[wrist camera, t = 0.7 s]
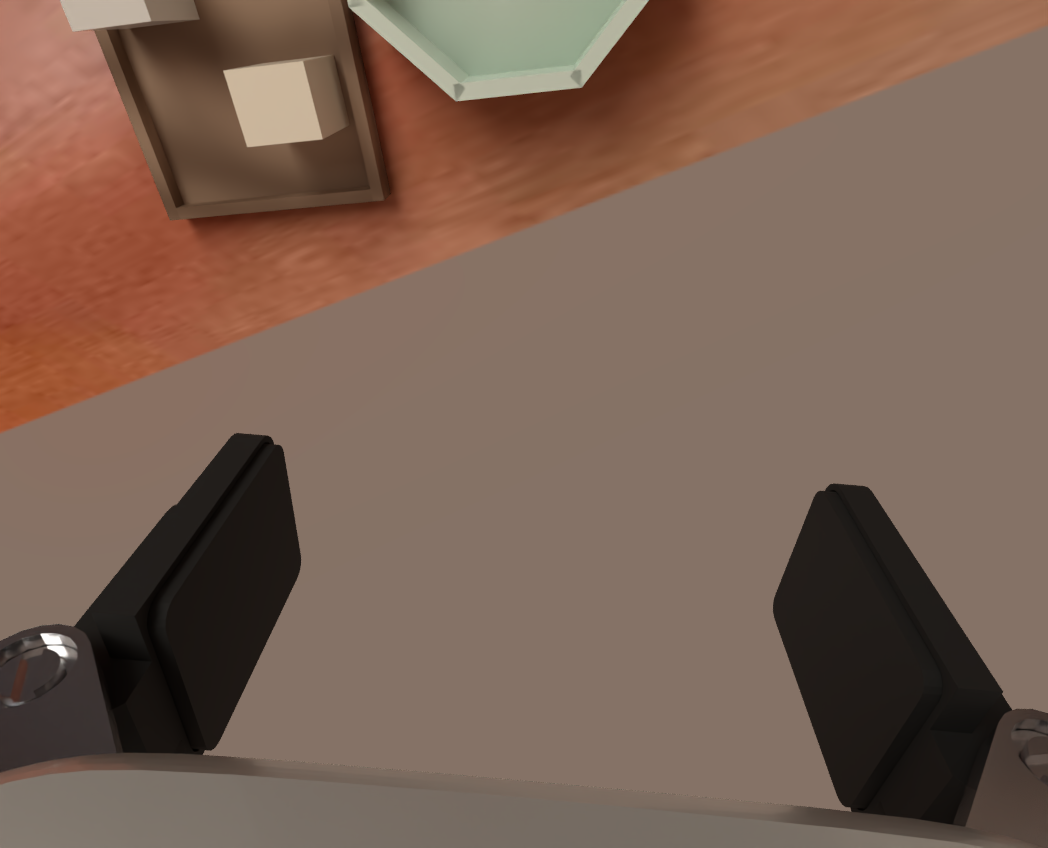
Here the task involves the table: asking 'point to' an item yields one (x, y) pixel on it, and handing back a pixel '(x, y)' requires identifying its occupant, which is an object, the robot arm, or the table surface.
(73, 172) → the table surface
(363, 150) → the walnut tray
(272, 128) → the beige upright box
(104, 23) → the light grey block
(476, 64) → the celadon bowl
